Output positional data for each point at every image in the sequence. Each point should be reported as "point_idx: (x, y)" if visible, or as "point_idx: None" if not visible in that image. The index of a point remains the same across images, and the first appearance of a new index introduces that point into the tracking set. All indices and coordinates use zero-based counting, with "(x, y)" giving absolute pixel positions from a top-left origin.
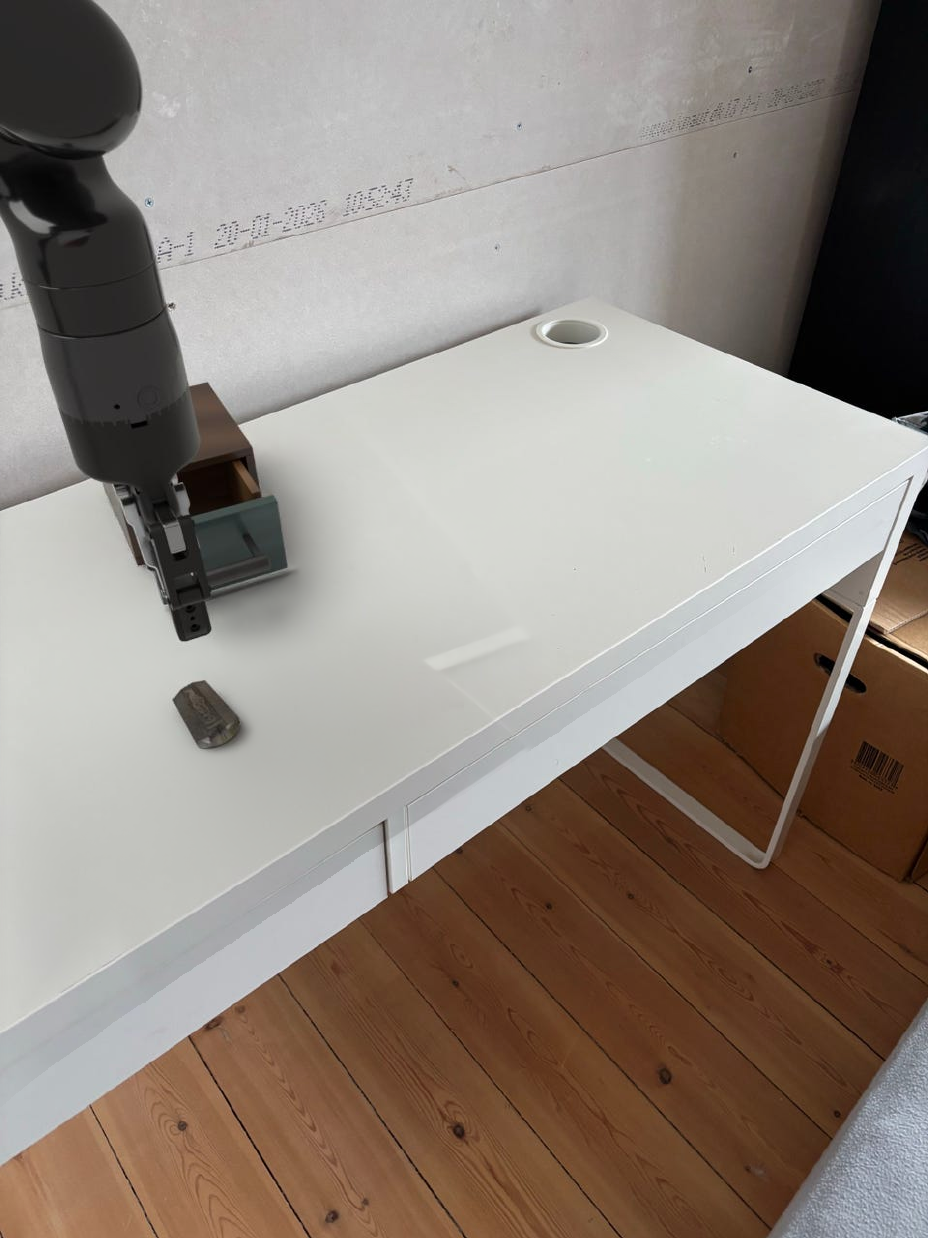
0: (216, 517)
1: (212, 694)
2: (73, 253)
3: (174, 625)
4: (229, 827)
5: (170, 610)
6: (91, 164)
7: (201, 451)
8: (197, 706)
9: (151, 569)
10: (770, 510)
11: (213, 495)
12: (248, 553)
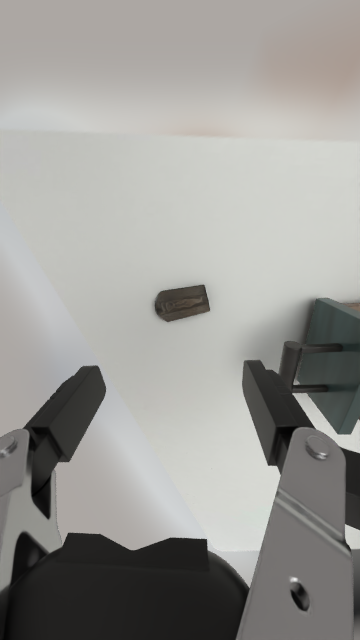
0: (356, 393)
1: (192, 312)
2: None
3: (78, 378)
4: (92, 294)
5: (59, 401)
6: None
7: None
8: (183, 301)
9: (245, 362)
10: (208, 517)
11: None
12: (315, 375)
